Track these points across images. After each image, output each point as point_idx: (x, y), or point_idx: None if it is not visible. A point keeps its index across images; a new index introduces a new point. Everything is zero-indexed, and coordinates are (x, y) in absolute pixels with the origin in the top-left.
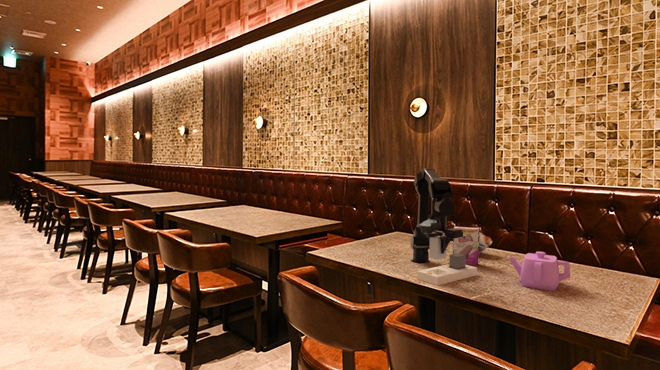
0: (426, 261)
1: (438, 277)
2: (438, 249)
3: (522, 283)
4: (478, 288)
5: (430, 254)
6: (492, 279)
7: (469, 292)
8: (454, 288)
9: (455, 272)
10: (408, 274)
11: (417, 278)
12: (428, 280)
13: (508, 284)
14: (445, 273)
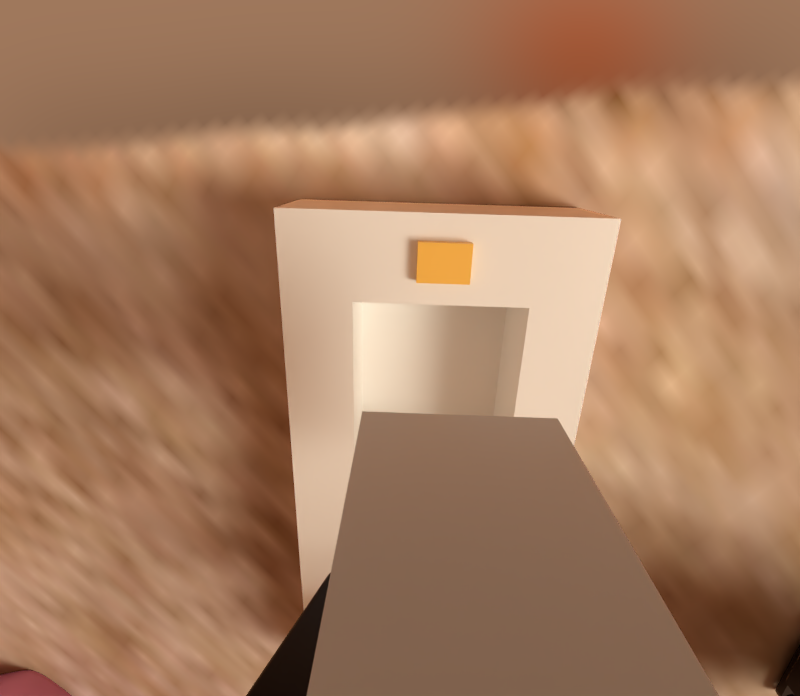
0: (795, 667)
1: (275, 222)
2: (331, 591)
3: (17, 685)
4: (98, 442)
5: (550, 457)
6: (219, 657)
7: (38, 301)
8: (181, 289)
9: (305, 505)
10: (756, 294)
11: (578, 209)
12: (420, 206)
13: (91, 643)
14: (335, 405)
